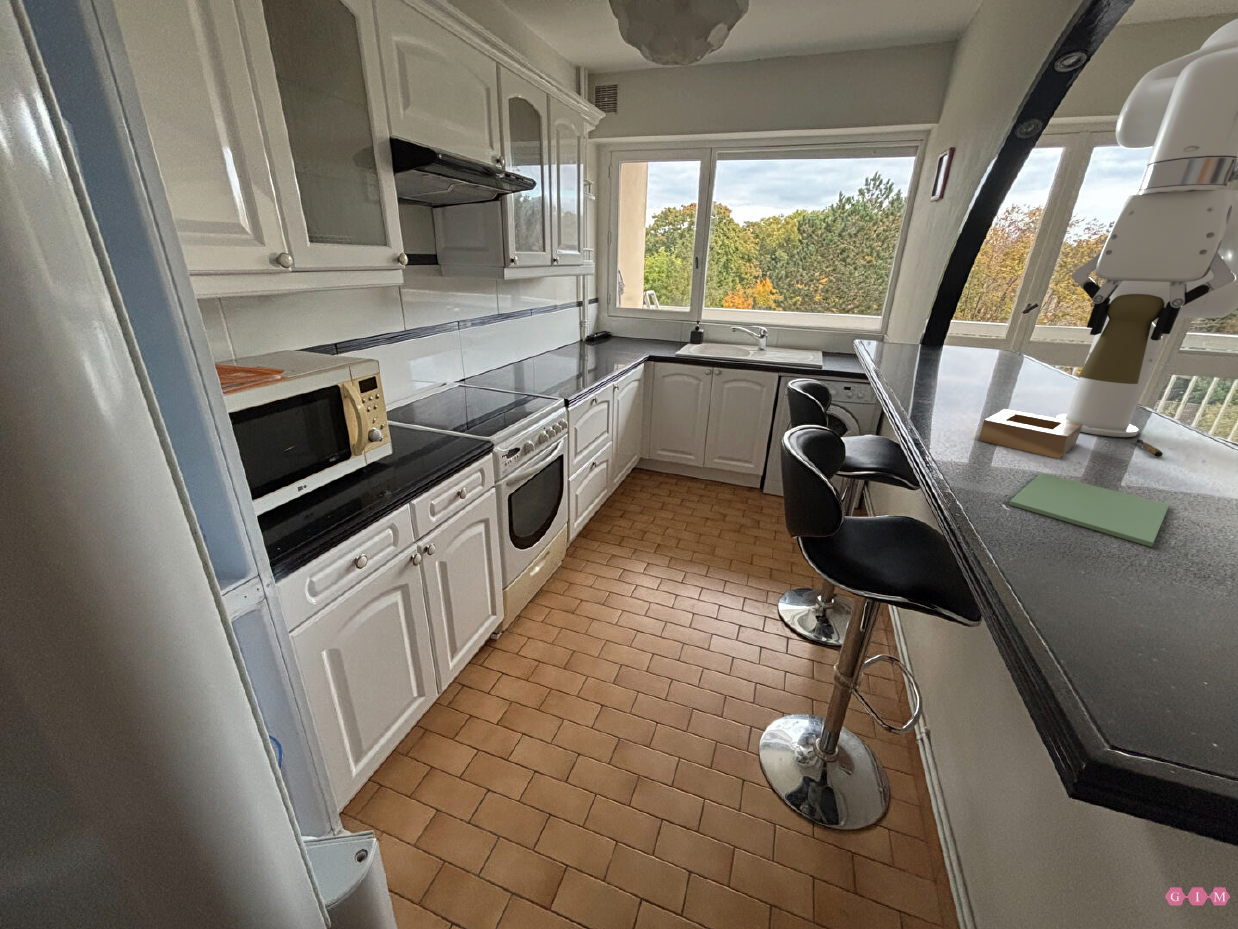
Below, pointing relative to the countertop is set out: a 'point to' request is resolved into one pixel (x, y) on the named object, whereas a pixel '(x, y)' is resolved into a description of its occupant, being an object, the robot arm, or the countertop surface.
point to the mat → (1093, 508)
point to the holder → (1030, 432)
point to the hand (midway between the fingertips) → (1124, 335)
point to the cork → (1123, 339)
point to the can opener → (1150, 448)
